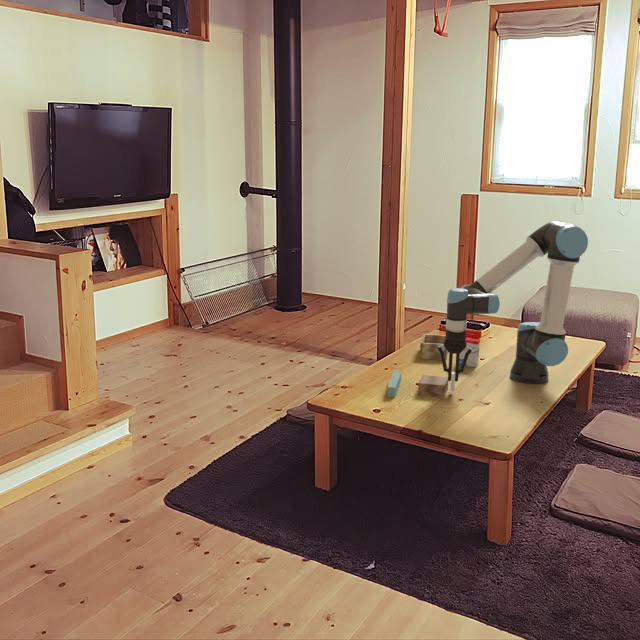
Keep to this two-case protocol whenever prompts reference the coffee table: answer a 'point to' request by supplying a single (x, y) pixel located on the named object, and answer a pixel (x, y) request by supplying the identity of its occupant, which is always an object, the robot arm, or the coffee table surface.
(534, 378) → the robot arm
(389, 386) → the teal long rectangular bar
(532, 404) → the coffee table surface
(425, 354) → the box
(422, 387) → the block
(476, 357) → the ink box
